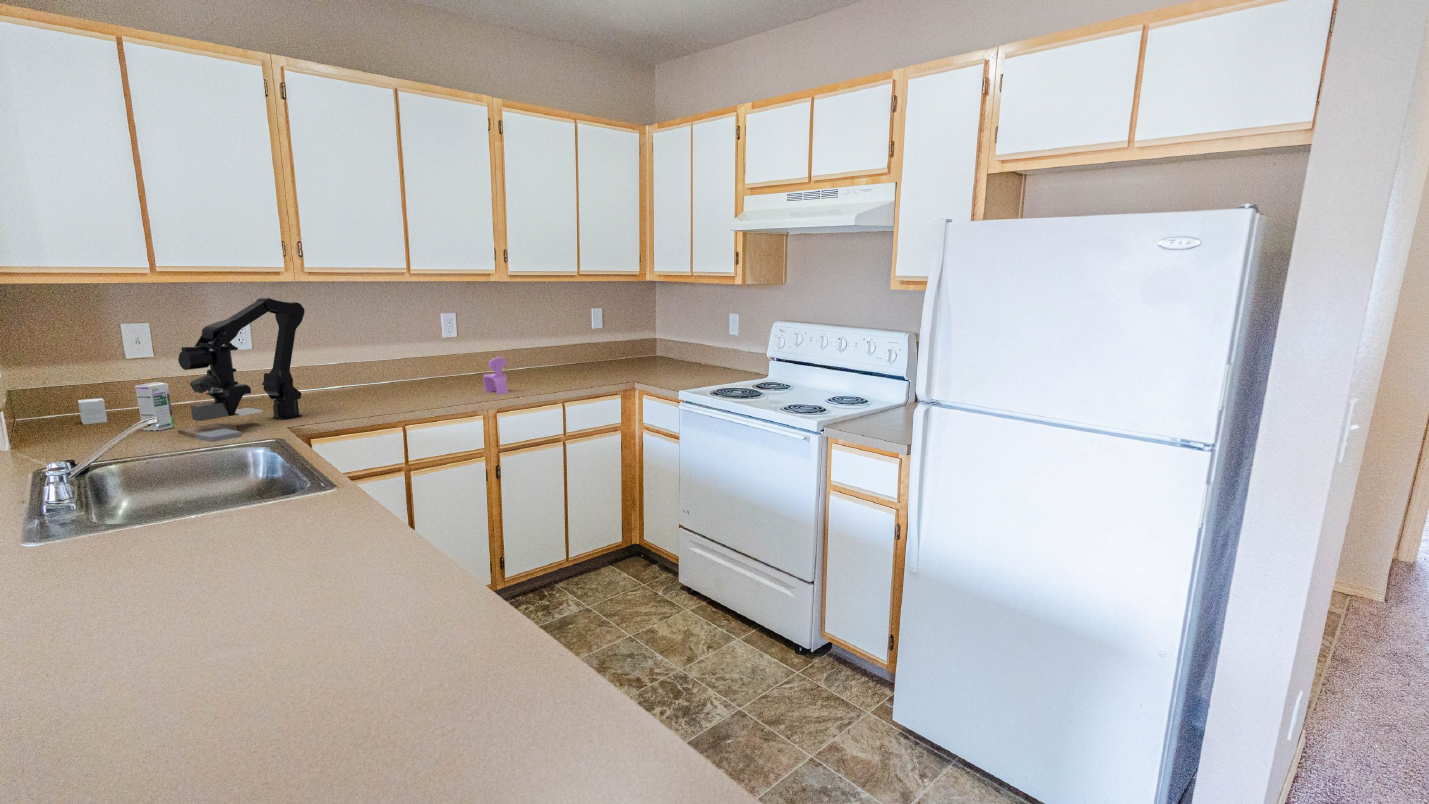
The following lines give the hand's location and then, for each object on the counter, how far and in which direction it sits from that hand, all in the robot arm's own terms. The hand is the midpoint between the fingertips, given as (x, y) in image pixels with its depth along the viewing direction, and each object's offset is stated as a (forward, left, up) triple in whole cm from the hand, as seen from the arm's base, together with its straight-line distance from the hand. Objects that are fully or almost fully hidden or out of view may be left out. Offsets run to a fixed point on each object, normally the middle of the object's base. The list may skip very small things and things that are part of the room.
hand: (227, 415), depth 211 cm
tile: (+4, +9, -4) cm, 10 cm away
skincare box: (+16, -49, -5) cm, 52 cm away
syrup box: (+11, -19, -5) cm, 22 cm away
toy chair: (-90, +23, -5) cm, 93 cm away
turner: (0, 0, 0) cm, 0 cm away
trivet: (+5, -1, -4) cm, 7 cm away
